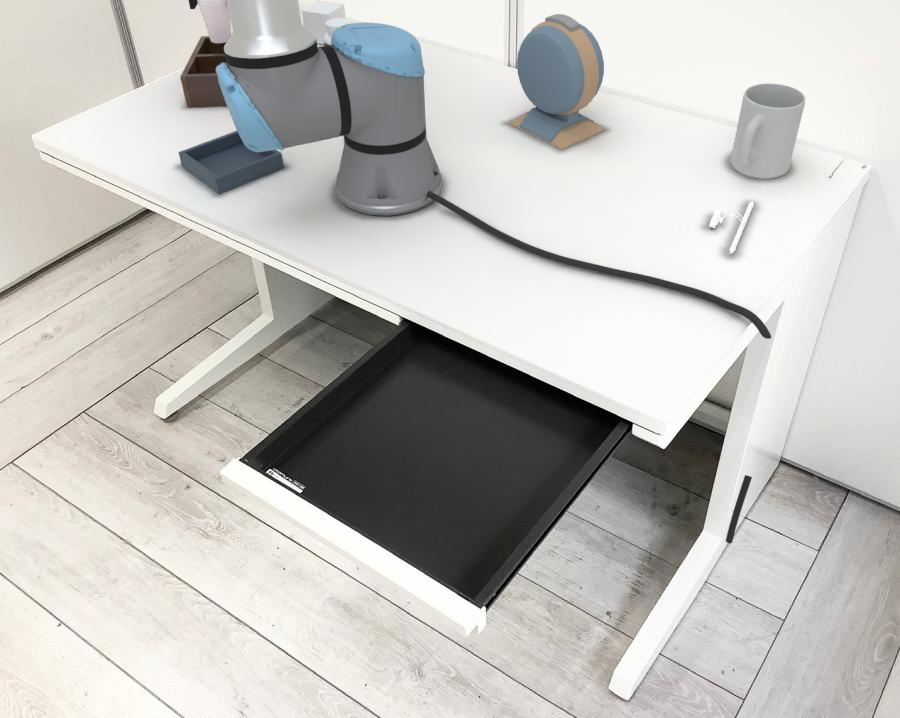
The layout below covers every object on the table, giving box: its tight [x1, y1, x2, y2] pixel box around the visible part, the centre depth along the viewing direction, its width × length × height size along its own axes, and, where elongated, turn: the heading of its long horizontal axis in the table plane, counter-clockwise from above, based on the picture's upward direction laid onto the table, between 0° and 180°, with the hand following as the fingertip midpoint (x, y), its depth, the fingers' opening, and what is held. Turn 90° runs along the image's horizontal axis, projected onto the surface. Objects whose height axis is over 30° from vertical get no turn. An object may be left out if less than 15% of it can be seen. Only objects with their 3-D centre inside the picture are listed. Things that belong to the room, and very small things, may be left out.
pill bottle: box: [323, 18, 349, 46], centre depth 161 cm, size 5×5×9 cm
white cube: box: [301, 0, 347, 45], centre depth 174 cm, size 6×6×6 cm
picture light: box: [708, 200, 755, 255], centre depth 120 cm, size 14×4×2 cm, turn 155°
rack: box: [179, 35, 227, 108], centre depth 158 cm, size 18×10×6 cm, turn 1°
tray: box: [178, 130, 285, 195], centre depth 136 cm, size 11×11×2 cm
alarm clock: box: [508, 13, 606, 151], centre depth 138 cm, size 14×10×18 cm
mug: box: [730, 83, 806, 180], centre depth 128 cm, size 12×8×11 cm
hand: (214, 5), depth 155 cm, fingers closed on smoothie, 6 cm apart
